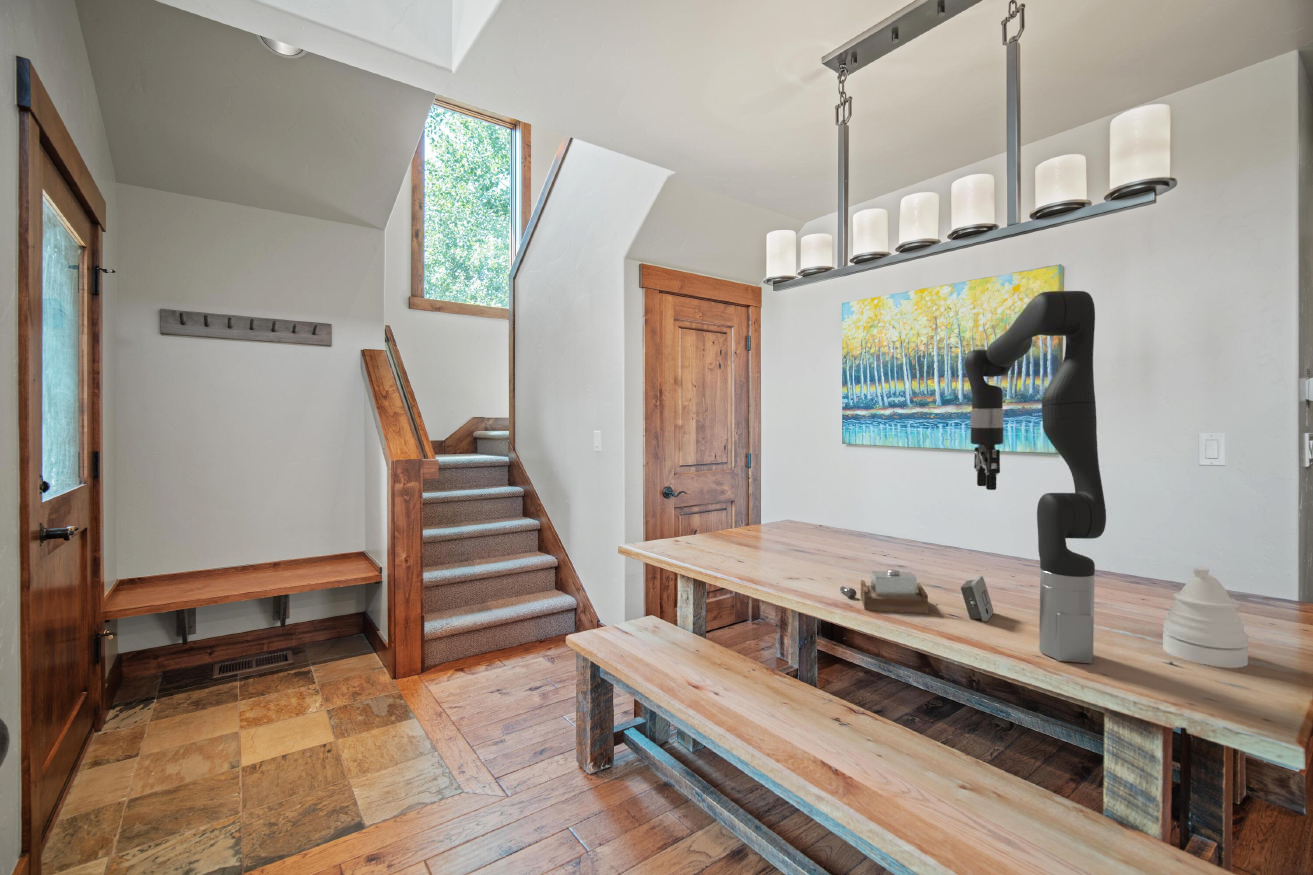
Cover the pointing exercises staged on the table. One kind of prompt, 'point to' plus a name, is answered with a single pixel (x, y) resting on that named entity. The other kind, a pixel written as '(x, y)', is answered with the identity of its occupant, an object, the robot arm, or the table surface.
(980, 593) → the electrical switch
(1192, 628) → the honey pot
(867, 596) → the brown wooden tray
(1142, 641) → the table surface
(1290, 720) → the table surface
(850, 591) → the bolt
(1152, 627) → the table surface
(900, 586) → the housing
